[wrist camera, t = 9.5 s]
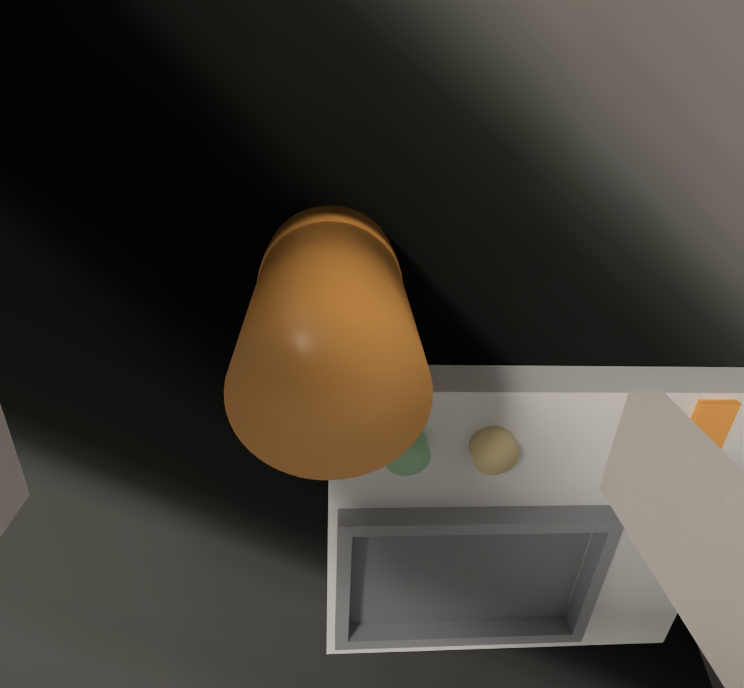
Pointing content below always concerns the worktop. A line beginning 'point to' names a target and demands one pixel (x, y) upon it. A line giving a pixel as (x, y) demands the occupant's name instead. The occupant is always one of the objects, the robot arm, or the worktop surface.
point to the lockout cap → (328, 352)
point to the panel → (509, 515)
